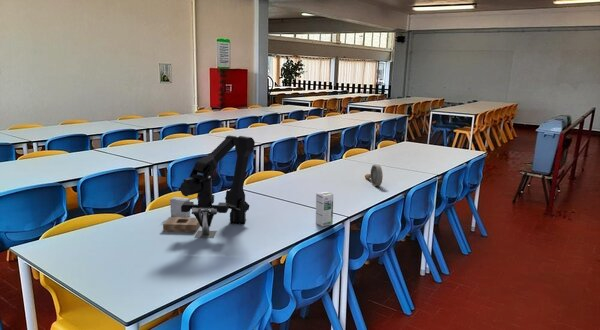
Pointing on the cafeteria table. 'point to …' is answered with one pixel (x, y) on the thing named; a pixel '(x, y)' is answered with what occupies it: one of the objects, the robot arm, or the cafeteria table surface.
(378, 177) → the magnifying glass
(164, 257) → the cafeteria table surface
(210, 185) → the robot arm
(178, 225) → the socket block
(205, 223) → the pin
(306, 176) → the cafeteria table surface
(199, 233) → the mat
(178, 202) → the medicine box
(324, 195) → the syrup box
